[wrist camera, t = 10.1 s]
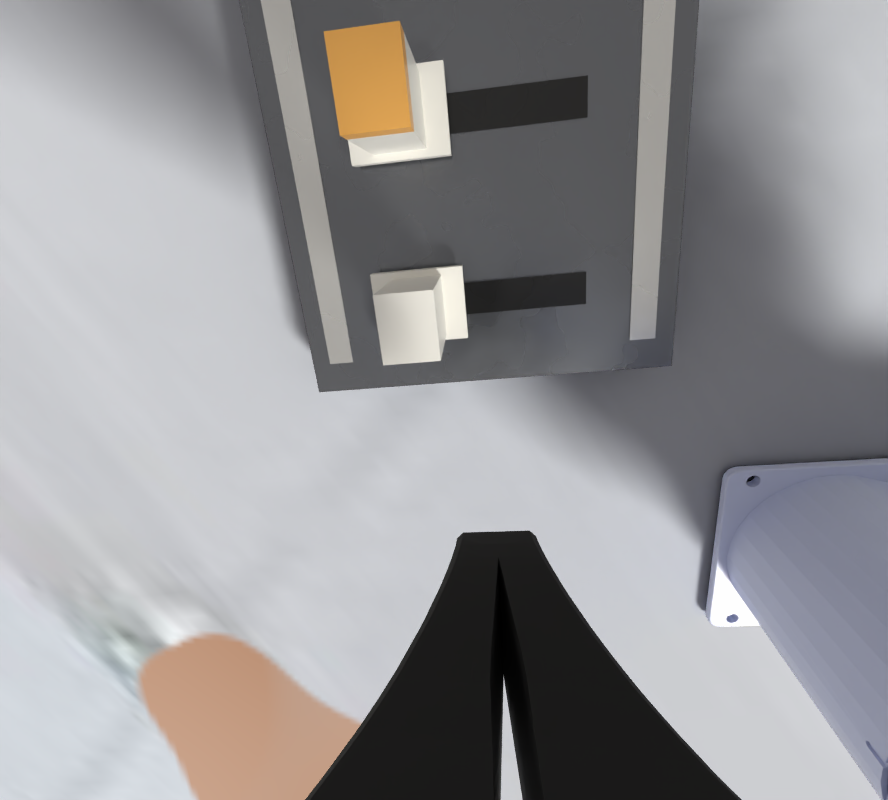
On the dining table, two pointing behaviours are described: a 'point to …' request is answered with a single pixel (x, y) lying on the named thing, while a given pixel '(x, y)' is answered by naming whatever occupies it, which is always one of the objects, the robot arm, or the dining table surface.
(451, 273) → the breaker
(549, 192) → the panel
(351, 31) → the breaker mid
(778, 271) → the dining table surface
